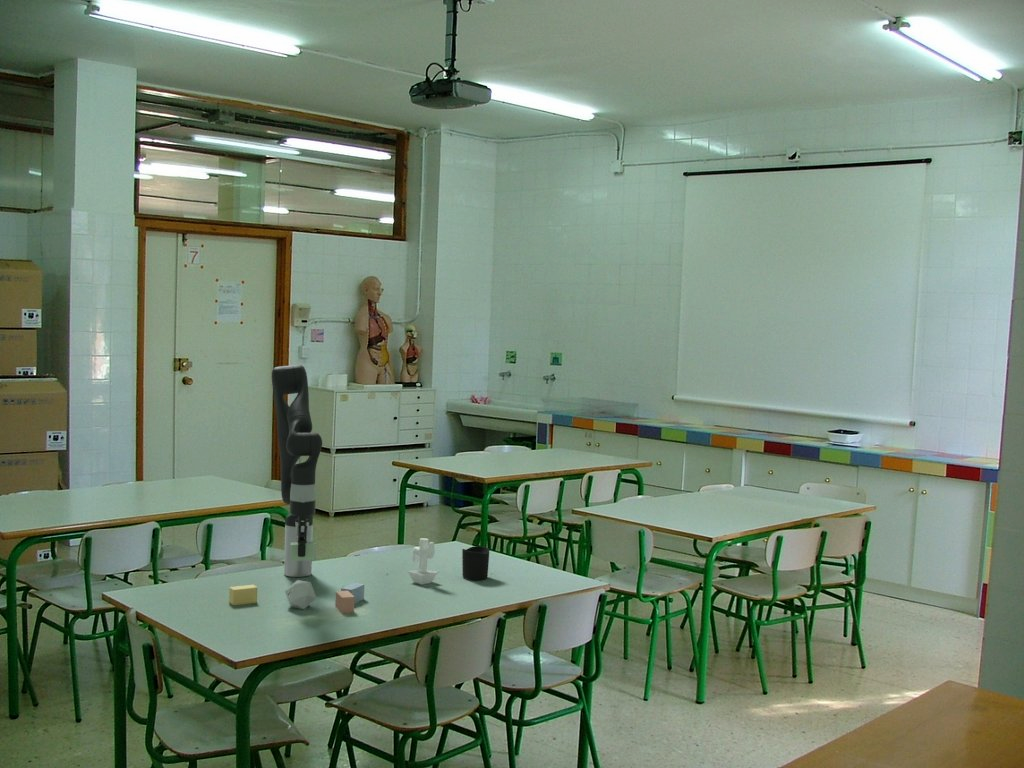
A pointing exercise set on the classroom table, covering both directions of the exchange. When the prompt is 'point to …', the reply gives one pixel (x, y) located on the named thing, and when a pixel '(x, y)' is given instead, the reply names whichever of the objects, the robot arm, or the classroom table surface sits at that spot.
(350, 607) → the terracotta brick
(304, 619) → the classroom table surface
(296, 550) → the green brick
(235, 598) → the ochre brick
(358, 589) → the slate brick
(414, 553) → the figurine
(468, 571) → the pen holder
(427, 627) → the classroom table surface
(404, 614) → the classroom table surface
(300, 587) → the die
